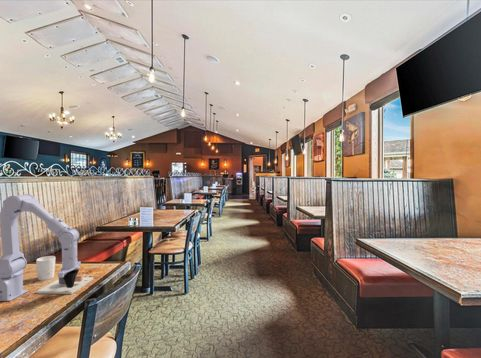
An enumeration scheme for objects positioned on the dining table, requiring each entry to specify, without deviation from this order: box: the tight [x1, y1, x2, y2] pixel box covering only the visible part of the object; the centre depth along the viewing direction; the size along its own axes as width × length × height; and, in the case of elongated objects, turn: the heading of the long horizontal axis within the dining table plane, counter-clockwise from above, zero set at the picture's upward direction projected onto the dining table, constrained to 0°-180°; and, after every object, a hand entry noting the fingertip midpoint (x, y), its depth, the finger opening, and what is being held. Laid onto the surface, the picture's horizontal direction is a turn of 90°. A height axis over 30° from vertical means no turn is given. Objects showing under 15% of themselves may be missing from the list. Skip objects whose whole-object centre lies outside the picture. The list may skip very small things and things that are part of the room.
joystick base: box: [35, 276, 94, 295], centre depth 123 cm, size 16×16×2 cm
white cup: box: [35, 255, 56, 281], centre depth 133 cm, size 8×8×10 cm
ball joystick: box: [58, 274, 83, 284], centre depth 123 cm, size 10×6×2 cm, turn 92°
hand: (70, 287), depth 116 cm, fingers closed
